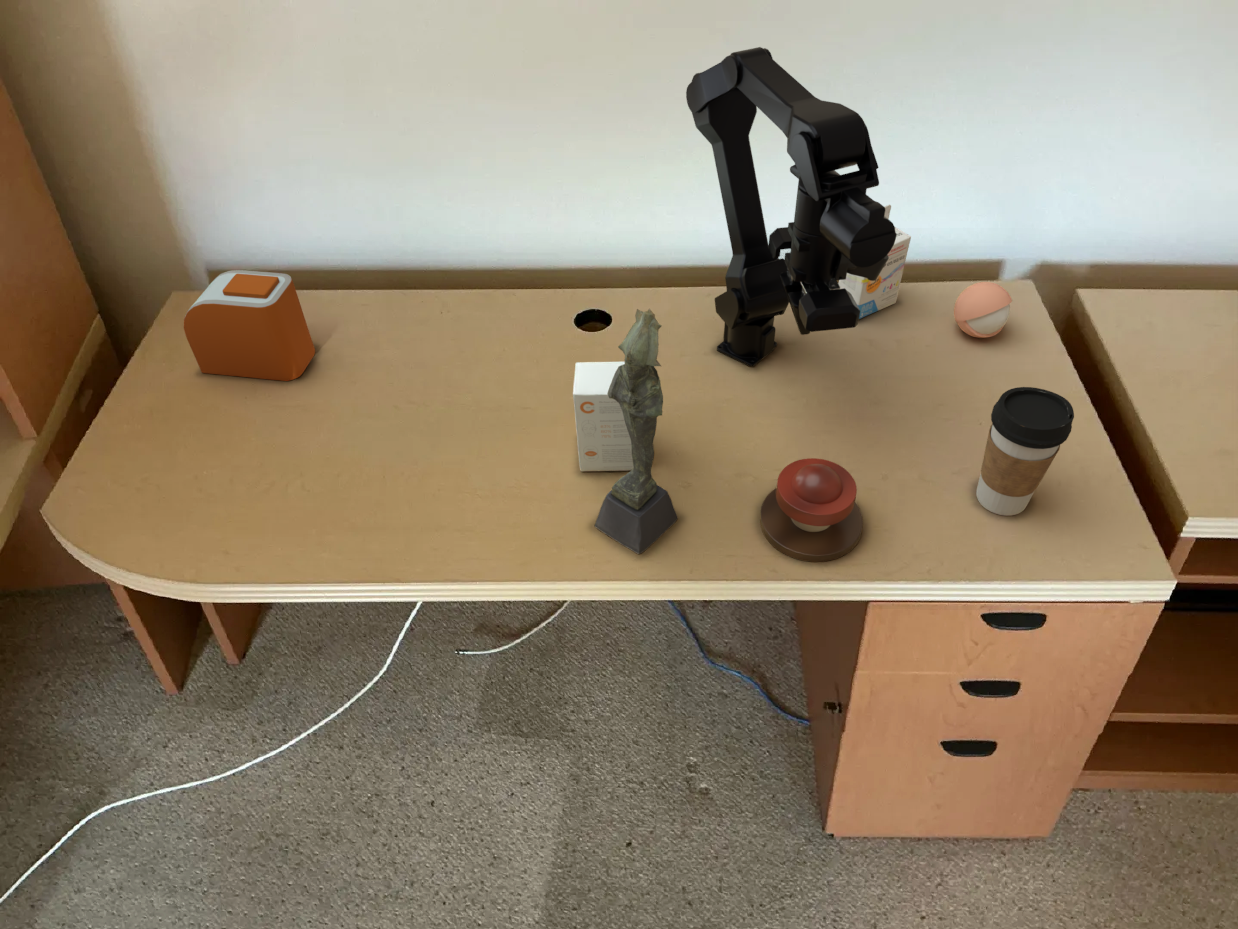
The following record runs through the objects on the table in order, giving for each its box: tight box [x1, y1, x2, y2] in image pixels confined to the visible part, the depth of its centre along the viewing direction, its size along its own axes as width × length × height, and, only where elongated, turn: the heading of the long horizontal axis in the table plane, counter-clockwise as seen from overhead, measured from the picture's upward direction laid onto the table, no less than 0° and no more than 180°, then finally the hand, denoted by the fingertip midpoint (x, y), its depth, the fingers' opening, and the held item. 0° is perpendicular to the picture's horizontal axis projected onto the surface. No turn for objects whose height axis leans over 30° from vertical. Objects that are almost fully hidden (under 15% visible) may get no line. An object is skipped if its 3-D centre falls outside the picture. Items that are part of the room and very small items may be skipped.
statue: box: [594, 308, 679, 555], centre depth 102 cm, size 7×8×30 cm
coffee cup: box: [975, 386, 1075, 517], centre depth 109 cm, size 8×8×15 cm
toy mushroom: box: [759, 457, 864, 563], centre depth 109 cm, size 12×12×9 cm
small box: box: [572, 361, 633, 472], centre depth 117 cm, size 8×6×13 cm
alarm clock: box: [183, 269, 316, 382], centre depth 133 cm, size 15×8×14 cm, turn 80°
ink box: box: [838, 204, 912, 320], centre depth 138 cm, size 8×5×15 cm, turn 123°
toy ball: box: [953, 281, 1013, 339], centre depth 135 cm, size 8×8×8 cm
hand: (804, 332), depth 119 cm, fingers closed
